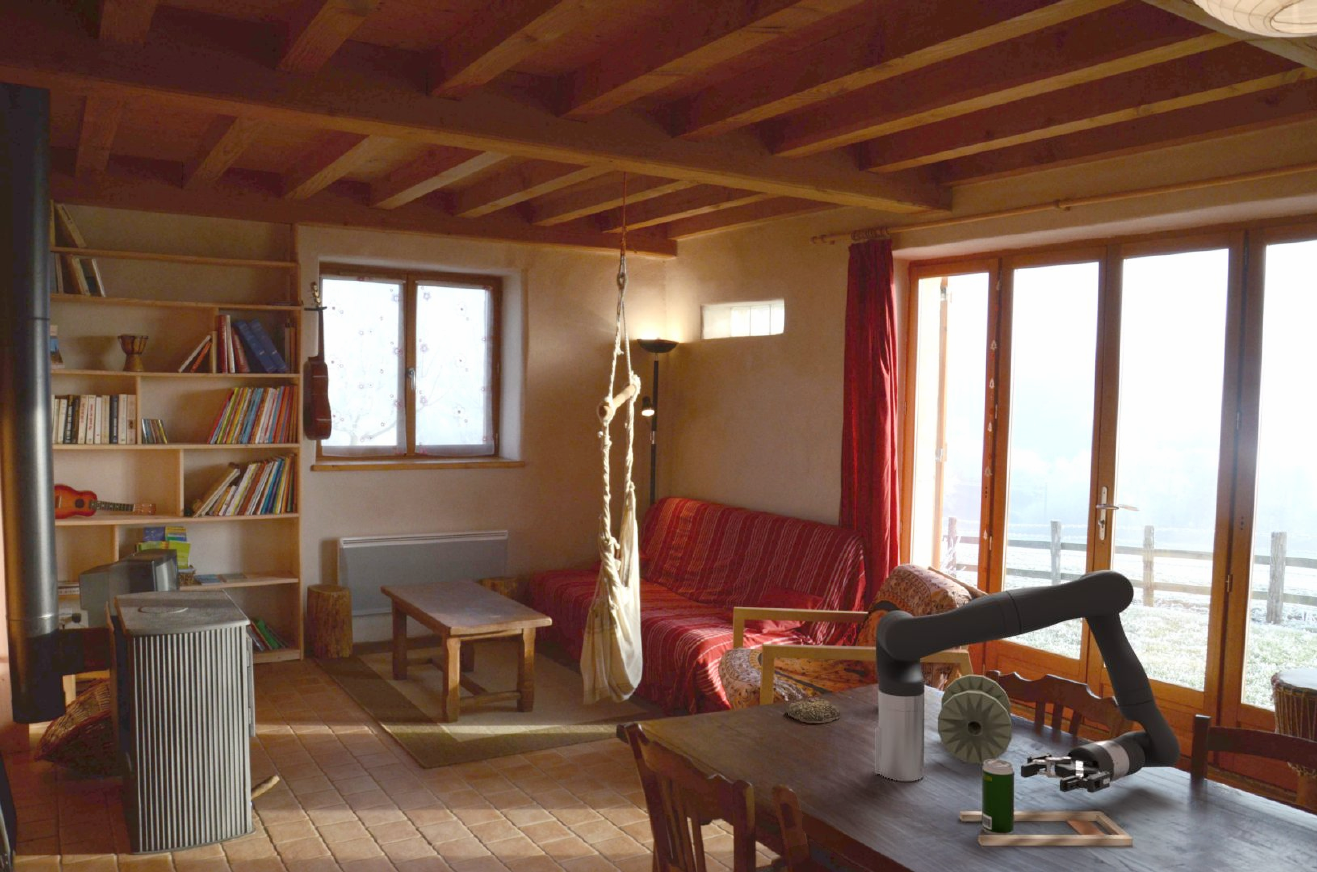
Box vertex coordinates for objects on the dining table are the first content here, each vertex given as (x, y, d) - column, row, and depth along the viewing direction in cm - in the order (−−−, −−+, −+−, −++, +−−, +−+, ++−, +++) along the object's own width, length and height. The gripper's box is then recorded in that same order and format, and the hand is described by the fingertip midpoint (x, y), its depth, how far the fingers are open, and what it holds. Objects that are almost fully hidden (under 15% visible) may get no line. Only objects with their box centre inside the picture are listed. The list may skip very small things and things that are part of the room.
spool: (1011, 767, 210) (1011, 696, 210) (937, 759, 214) (938, 689, 214) (1010, 743, 225) (1010, 677, 225) (941, 736, 230) (941, 672, 230)
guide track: (981, 845, 170) (981, 838, 170) (959, 817, 182) (959, 811, 182) (1132, 845, 170) (1132, 838, 170) (1100, 817, 182) (1101, 811, 182)
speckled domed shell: (805, 727, 238) (805, 706, 238) (779, 713, 249) (779, 694, 249) (850, 721, 243) (850, 700, 243) (822, 708, 254) (822, 688, 254)
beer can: (1000, 839, 172) (1001, 770, 172) (975, 829, 177) (975, 762, 177) (1020, 833, 175) (1020, 765, 175) (994, 822, 180) (995, 756, 180)
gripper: (1065, 733, 196) (1009, 747, 188) (1132, 754, 184) (1075, 769, 175) (1066, 771, 196) (1009, 787, 188) (1132, 794, 184) (1075, 812, 175)
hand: (1041, 778), depth 182 cm, fingers open, 8 cm apart
